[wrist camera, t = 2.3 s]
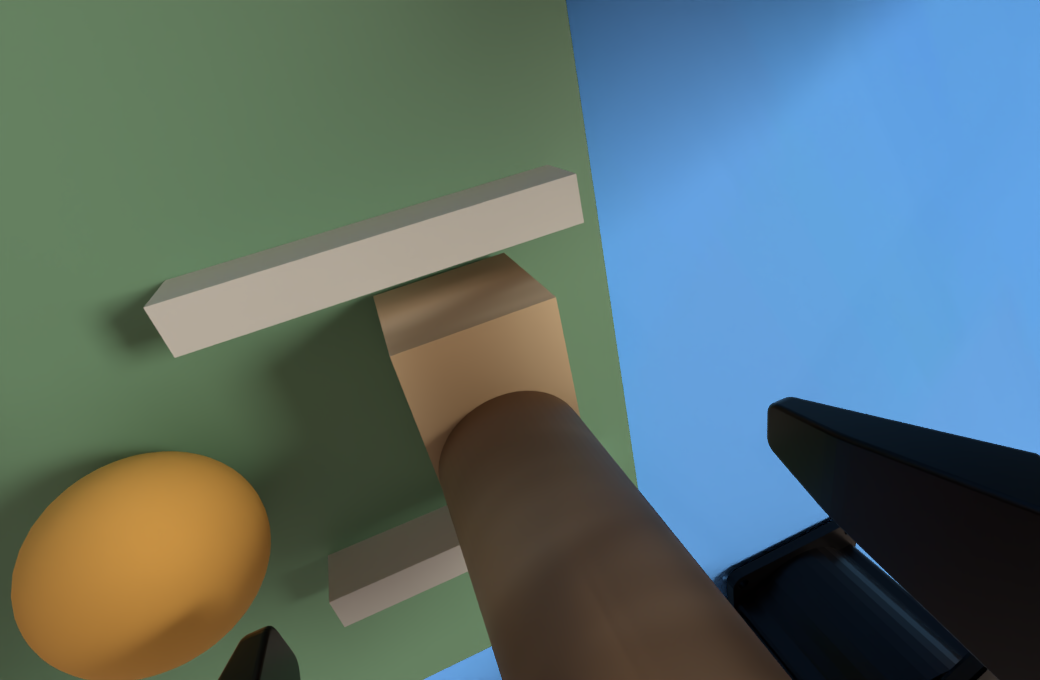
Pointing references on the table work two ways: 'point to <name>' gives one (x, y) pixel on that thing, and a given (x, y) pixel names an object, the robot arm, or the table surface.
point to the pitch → (281, 279)
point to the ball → (141, 566)
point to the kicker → (549, 495)
